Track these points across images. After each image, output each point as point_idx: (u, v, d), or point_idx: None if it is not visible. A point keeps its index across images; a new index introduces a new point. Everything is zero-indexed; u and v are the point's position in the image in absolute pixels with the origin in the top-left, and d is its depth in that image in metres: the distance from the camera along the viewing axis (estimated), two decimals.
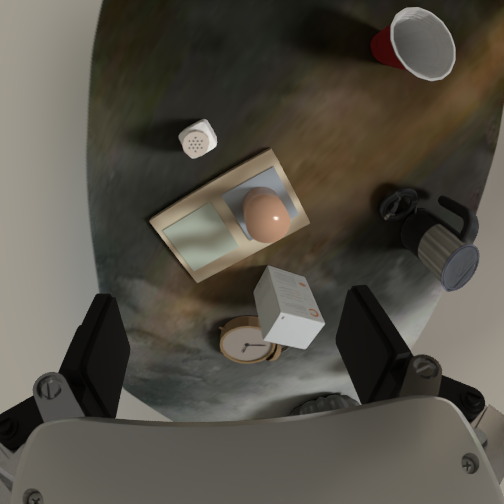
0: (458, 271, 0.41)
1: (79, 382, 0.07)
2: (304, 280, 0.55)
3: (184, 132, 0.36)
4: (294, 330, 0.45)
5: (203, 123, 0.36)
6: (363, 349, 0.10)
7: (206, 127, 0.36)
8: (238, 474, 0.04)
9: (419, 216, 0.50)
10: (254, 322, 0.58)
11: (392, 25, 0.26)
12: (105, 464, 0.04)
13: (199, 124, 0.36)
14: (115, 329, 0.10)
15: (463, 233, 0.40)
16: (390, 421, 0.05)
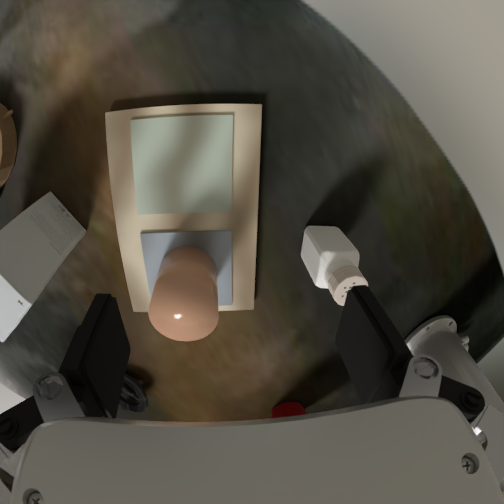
0: None
1: (79, 382, 0.07)
2: None
3: (357, 262, 0.27)
4: None
5: None
6: (363, 349, 0.10)
7: None
8: (238, 474, 0.04)
9: None
10: (1, 177, 0.22)
11: None
12: (105, 464, 0.04)
13: None
14: (115, 329, 0.10)
15: None
16: (390, 421, 0.05)
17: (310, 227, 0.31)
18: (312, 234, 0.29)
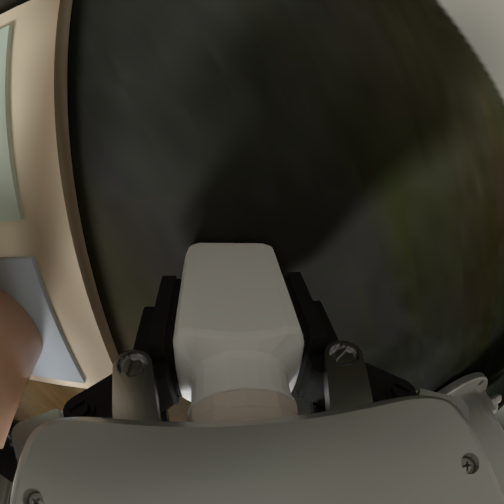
0: None
1: (160, 358, 0.09)
2: None
3: (297, 358, 0.09)
4: None
5: None
6: None
7: None
8: (238, 474, 0.04)
9: (14, 455, 0.23)
10: None
11: None
12: (105, 464, 0.04)
13: None
14: None
15: None
16: (390, 421, 0.05)
17: (195, 248, 0.13)
18: (188, 268, 0.11)
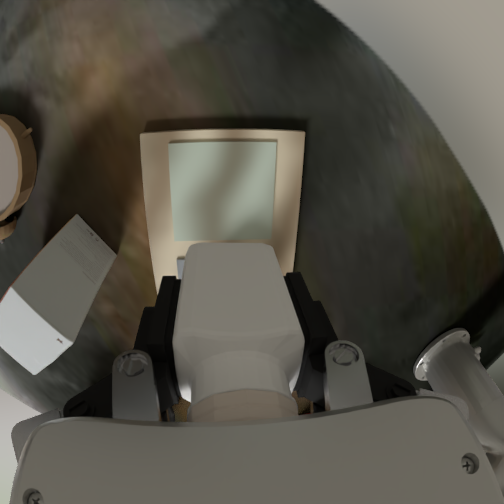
0: None
1: (160, 358, 0.09)
2: None
3: (298, 358, 0.09)
4: (26, 340, 0.17)
5: None
6: None
7: None
8: (238, 474, 0.04)
9: None
10: (21, 199, 0.23)
11: None
12: (105, 464, 0.04)
13: None
14: None
15: None
16: (390, 421, 0.05)
17: (195, 247, 0.13)
18: (187, 267, 0.11)
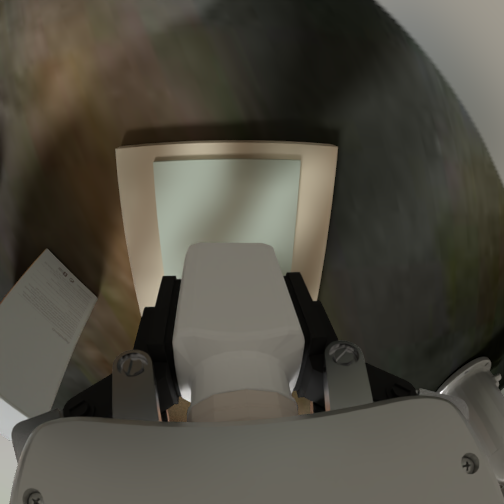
0: None
1: (160, 358, 0.09)
2: None
3: (298, 358, 0.09)
4: None
5: None
6: None
7: None
8: (238, 474, 0.04)
9: None
10: None
11: None
12: (105, 464, 0.04)
13: None
14: None
15: None
16: (390, 421, 0.05)
17: (195, 247, 0.13)
18: (187, 268, 0.11)
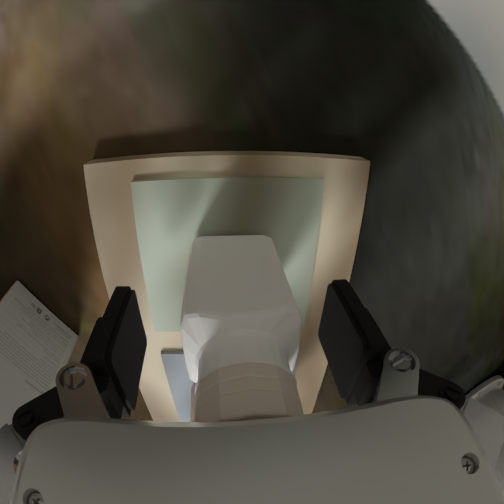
0: None
1: (102, 372, 0.08)
2: None
3: (296, 337, 0.10)
4: None
5: None
6: (341, 342, 0.10)
7: None
8: (238, 474, 0.04)
9: None
10: None
11: None
12: (105, 464, 0.04)
13: None
14: (134, 321, 0.11)
15: None
16: (390, 421, 0.05)
17: (199, 240, 0.14)
18: (192, 258, 0.12)
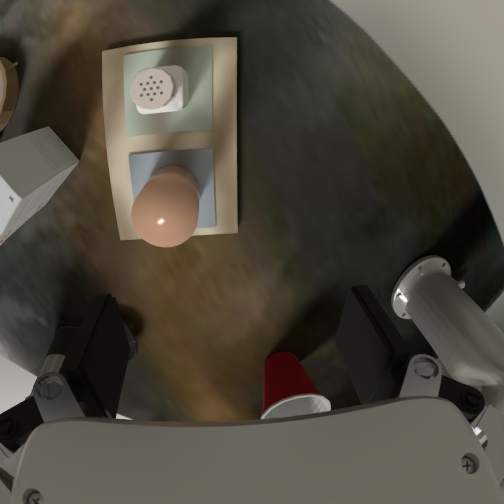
0: None
1: (79, 382, 0.07)
2: (42, 206, 0.30)
3: (180, 77, 0.21)
4: None
5: (178, 108, 0.22)
6: (363, 349, 0.10)
7: (170, 109, 0.22)
8: (238, 474, 0.04)
9: None
10: (2, 119, 0.23)
11: (322, 397, 0.38)
12: (105, 464, 0.04)
13: (180, 102, 0.22)
14: (115, 329, 0.10)
15: None
16: (390, 421, 0.05)
17: None
18: None
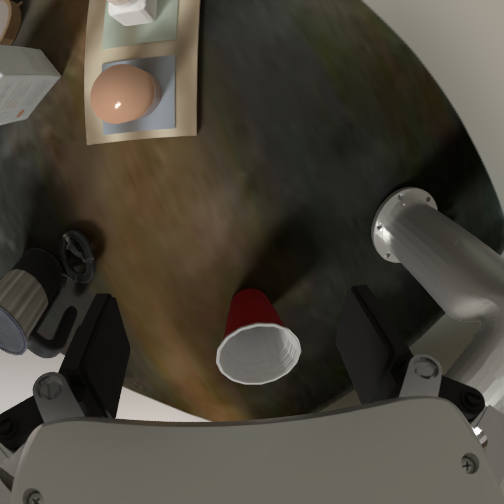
0: None
1: (79, 382, 0.07)
2: (23, 117, 0.28)
3: None
4: None
5: (141, 8, 0.20)
6: (363, 349, 0.10)
7: (134, 9, 0.20)
8: (238, 474, 0.04)
9: (58, 278, 0.39)
10: None
11: (289, 331, 0.36)
12: (105, 464, 0.04)
13: (142, 3, 0.20)
14: (115, 329, 0.10)
15: (38, 338, 0.31)
16: (390, 421, 0.05)
17: None
18: None
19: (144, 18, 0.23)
